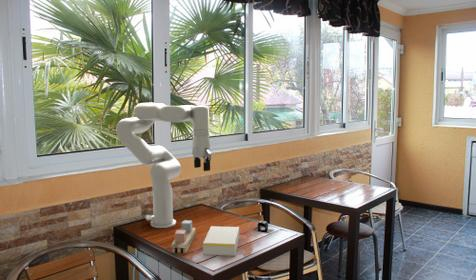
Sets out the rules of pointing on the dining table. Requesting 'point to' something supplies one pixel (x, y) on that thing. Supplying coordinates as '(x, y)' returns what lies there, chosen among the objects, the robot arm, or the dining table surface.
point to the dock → (221, 241)
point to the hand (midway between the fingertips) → (202, 169)
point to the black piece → (260, 229)
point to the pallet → (185, 245)
